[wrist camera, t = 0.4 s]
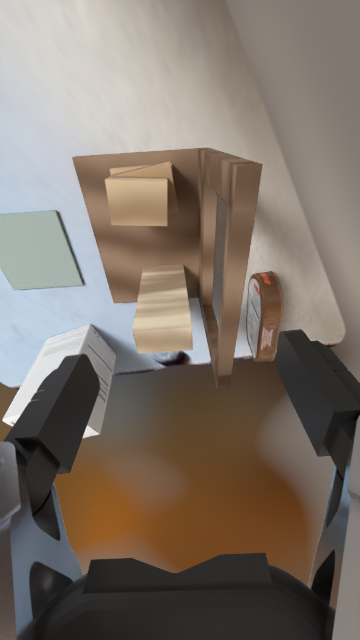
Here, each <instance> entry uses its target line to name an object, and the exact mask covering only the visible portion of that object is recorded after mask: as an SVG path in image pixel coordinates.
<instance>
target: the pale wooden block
mask: <svg viewBox="0 0 360 640" xmlns="http://www.w3.org/2000/svg"><path fill="white" fill-rule="evenodd" d="M132 332H133V336H134V340H135V344H136V348H137V352H138V354H140V353H154V352H167V351H181V350H193V343H192V323H191V316H190V308H189V301H188V294H187V287H186V280H185V273H184V266H183V265H170V266H156V267H143V270H142V276H141V283H140V289H139V295H138V301H137V307H136V313H135V319H134V325H133V331H132Z"/></svg>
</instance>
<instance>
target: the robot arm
mask: <svg viewBox="0 0 360 640" xmlns="http://www.w3.org/2000/svg"><path fill="white" fill-rule="evenodd" d="M276 368H277V372H278V375H279V377H280V379H281V381H282V383H283V385H284V387H285V389H286V391H287V393H288V395H289V398H290V399H291V402H292V404H293V406H294V408H295V410H296V412H297V414H298V416H299V418H300V420H301V422H302V424H303V427H304V429H305V431H306V433H307V435H308V437H309V439H310V441H311V443H312V445H313V447H314V449H315V451H316V453H317V456H318V457H319V456H331V458H332V460H333V462H334V464H335V465H336V466H335V469H334V473H333V478H332V483H331V488H330V493H329V498H328V503H327V508H326V514H325V519H324V524H323V528H322V532H321V536H320V539H319V542H318V545H317V549H316V553H315V557H314V561H313V566H312V571H311V576H310V581H309V586H308V587H307V586H306V585H305V584H304V583H302V582H301V581H300V580H298V579H297V578H295V577H294V576H292V575H291V574H289V573H288V572H286V571H284V570H282V569H280V568H278V567H275V566H272V565H270V564H268V562H267V558H266V553H251V554H226V555H219V556H216V557H214V558H212V559H210V560H207V561H205V562H202V563H200V564H198V565H196V566H194V567H191V568H189V569H186V570H184V571H182V572H179V573H170V572H168V571H165V570H162V569H160V568H157V567H154V566H152V565H149V564H146V563H144V562H141V561H138V560H135V559H133V558H123V559H98V560H91V562H90V566H89V571H88V573H87V574H85V575H82V571H81V567H80V564H79V562H78V559H77V557H76V555H75V553H74V552H73V550H72V548H71V546H70V544H69V542H68V539H67V534H66V530H65V526H64V522H63V517H62V513H61V509H60V505H59V500H58V496H57V491H56V488H55V485H54V484H53V481H54V479H55V477H56V474H63V473H70V471H71V468H72V465H73V463H74V460H75V457H76V454H77V452H78V449H79V446H80V443H81V440H82V438H83V435H84V432H85V430H86V427H87V424H88V422H89V419H90V416H91V413H92V411H93V408H94V405H95V402H96V400H97V397H98V394H99V391H100V381H99V378H98V376H97V374H96V372H95V370H94V368H93V365H92V363H91V361H90V359H89V357H88V356H87V355H86V354H78V355H69V356H66V357H64V359H63V360H62V362H61V364H60V365H59V367H58V368H57V369H55V370H53V371H52V372H51V373H50V374H49V375H48V376H47V377H46V378H45V379H44V380H43V381H42V383H41V385H40V386H39V388H38V389H37V392H36V393H35V394H34V395H33V397H32V398H31V402H29V403H28V404H27V406H26V407H25V409H24V411H23V412H22V414H21V415H20V417H19V418H18V420H17V421H16V423H15V424H14V426H13V428H12V429H11V431H10V432H9V434H8V435H7V437H6V438H5V440H4V441H3V442H0V640H360V383H359V382H358V381H357V380H356V378H355V377H354V376H353V375H352V374H351V372H350V371H348V370H347V368H346V367H345V366H344V364H343V363H342V362H340V361H339V358H338V357H337V356H336V355H335V354H334V352H333V351H332V350H331V349H330V348H328V347H327V346H325V345H323V344H322V343H320V342H319V341H310V340H309V338H308V337H307V336H306V334H305V333H304V332H303V331H302V330H301V329H299V330H290V331H281V332H280V333H279V336H278V344H277V353H276Z"/></svg>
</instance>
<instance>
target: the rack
mask: <svg viewBox="0 0 360 640" xmlns="http://www.w3.org/2000/svg"><path fill="white" fill-rule="evenodd" d="M72 159H73V162H74V166H75V169H76V173H77V176H78V180H79V183H80V187H81V190H82V194H83V197H84V201H85V204H86V208H87V211H88V215H89V218H90V222H91V225H92V229H93V232H94V236H95V239H96V243H97V246H98V249H99V253H100V256H101V260H102V263H103V267H104V270H105V274H106V277H107V281H108V284H109V288H110V291H111V295H112V298H113V302H114V303H124V302H137V301H138V295H139V289H140V283H141V276H142V270H143V267H156V266H170V265H183V266H184V273H185V280H186V287H187V294H188V298H194V297H198V298H199V303H200V308H201V313H202V318H203V323H204V328H205V332H206V337H207V342H208V347H209V352H210V357H211V362H212V367H213V372H214V376H215V381H216V386H217V388H228V387H229V386H230V379H231V372H232V365H233V359H234V352H235V346H236V339H237V332H238V325H239V319H240V312H241V305H242V298H243V292H244V285H245V278H246V271H247V265H248V258H249V251H250V245H251V238H252V231H253V224H254V218H255V211H256V204H257V197H258V191H259V184H260V177H261V170H262V164H259V163H256V162H253V161H250V160H246V159H243V158H240V157H237V156H234V155H230V154H227V153H224V152H221V151H217V150H214V149H211V148H197V149H182V150H167V151H152V152H136V153H121V154H106V155H91V156H76V157H72ZM166 161H170V163H172V172H173V182H174V187H175V193H176V198H177V204H178V209H179V212H175V213H171V214H167V226H131V225H111V218H110V211H109V204H108V198H107V191H106V184H105V179H106V178H108V177H109V176H111V174H110V169H111V168H113V167H116V166H131V165H146V164H158V163H162V162H166ZM217 194H218V195H219V196H220V198H221V199H222V200H223V201H224V202H225V203H226V204H227V206H228V213H227V226H226V239H225V252H224V265H223V278H222V291H221V305H220V318H219V329H218V325H217V322H216V318H215V314H214V311H213V307H212V293H213V272H214V251H215V230H216V209H217Z"/></svg>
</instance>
